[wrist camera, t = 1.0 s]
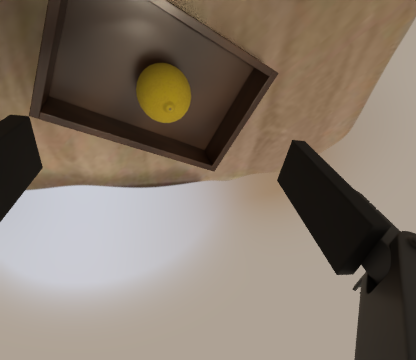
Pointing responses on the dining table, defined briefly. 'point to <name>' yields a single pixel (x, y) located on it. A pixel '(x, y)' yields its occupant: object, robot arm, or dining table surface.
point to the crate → (130, 71)
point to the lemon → (163, 92)
